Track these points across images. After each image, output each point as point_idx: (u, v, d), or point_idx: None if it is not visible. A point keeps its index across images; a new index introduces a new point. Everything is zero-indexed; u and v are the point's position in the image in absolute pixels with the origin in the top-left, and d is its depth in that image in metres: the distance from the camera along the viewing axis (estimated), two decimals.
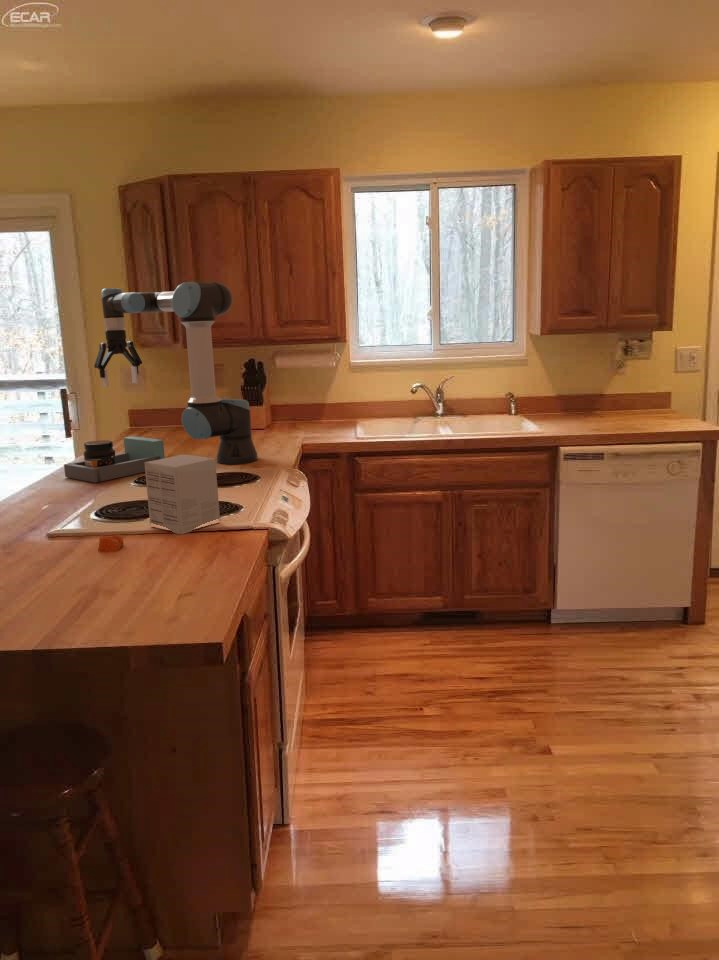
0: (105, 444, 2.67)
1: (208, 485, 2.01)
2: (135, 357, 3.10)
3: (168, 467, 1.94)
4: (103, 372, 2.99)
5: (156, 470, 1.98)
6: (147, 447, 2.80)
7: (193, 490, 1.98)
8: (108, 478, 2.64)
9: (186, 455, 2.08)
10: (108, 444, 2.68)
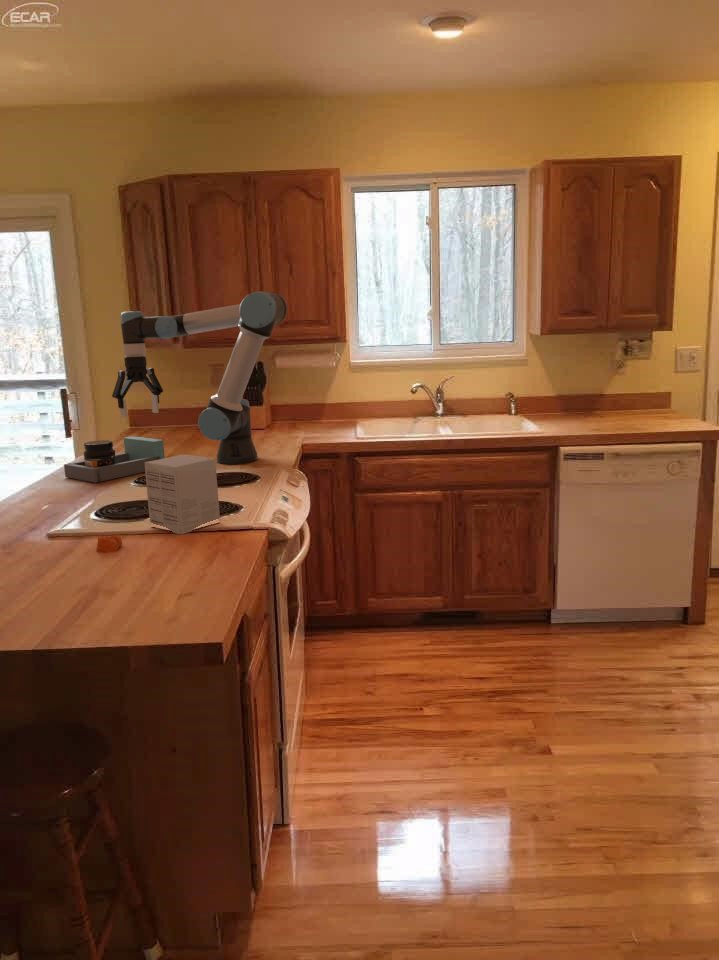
0: (105, 444, 2.67)
1: (208, 485, 2.01)
2: (156, 385, 2.86)
3: (168, 467, 1.94)
4: (122, 402, 2.75)
5: (156, 470, 1.98)
6: (147, 447, 2.80)
7: (193, 489, 1.98)
8: (108, 478, 2.64)
9: (186, 455, 2.08)
10: (108, 444, 2.68)
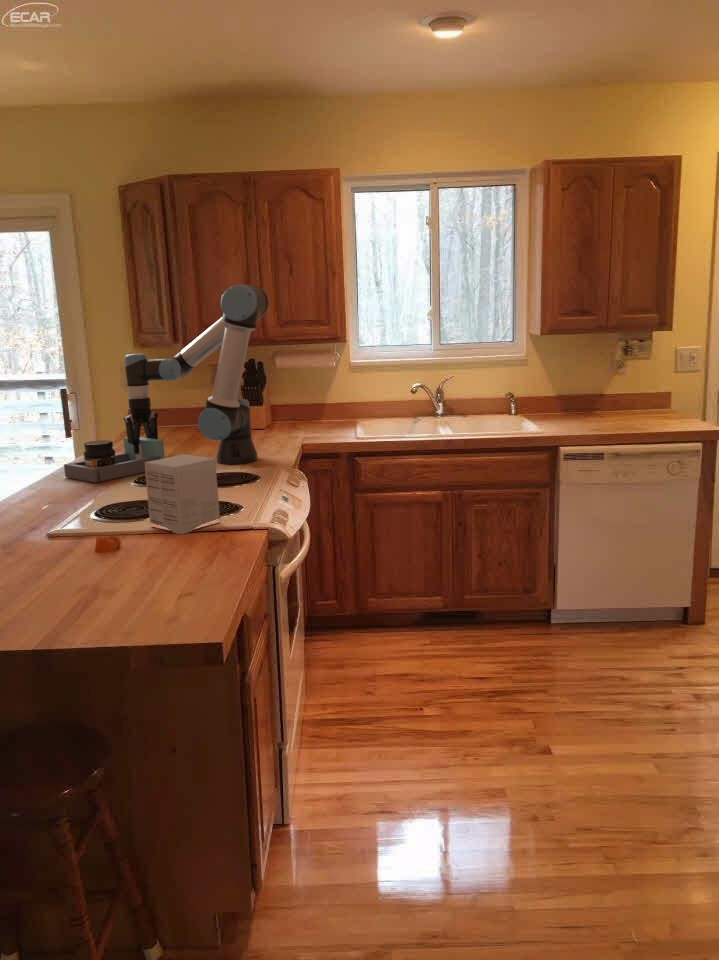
0: (105, 444, 2.67)
1: (208, 485, 2.01)
2: (153, 430, 2.87)
3: (168, 467, 1.94)
4: (137, 448, 2.82)
5: (156, 470, 1.98)
6: (147, 447, 2.80)
7: (193, 489, 1.98)
8: (108, 478, 2.64)
9: (186, 455, 2.08)
10: (108, 444, 2.68)
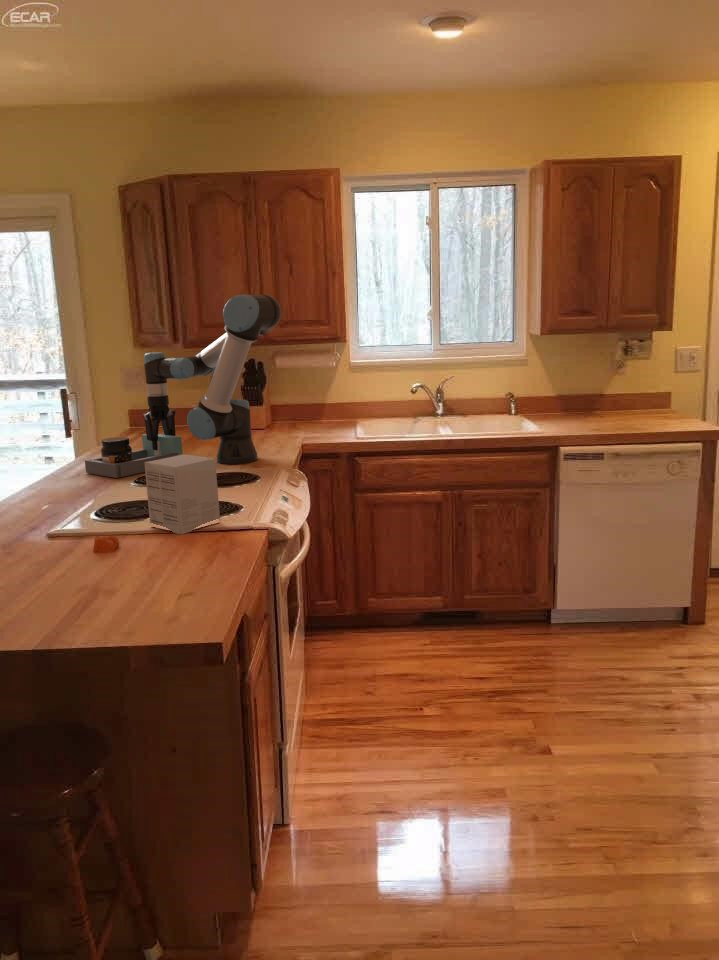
0: (122, 441, 2.72)
1: (208, 485, 2.01)
2: (171, 427, 2.93)
3: (168, 467, 1.94)
4: (156, 444, 2.88)
5: (156, 470, 1.98)
6: (165, 444, 2.87)
7: (193, 489, 1.98)
8: (128, 474, 2.70)
9: (186, 455, 2.08)
10: (125, 441, 2.73)
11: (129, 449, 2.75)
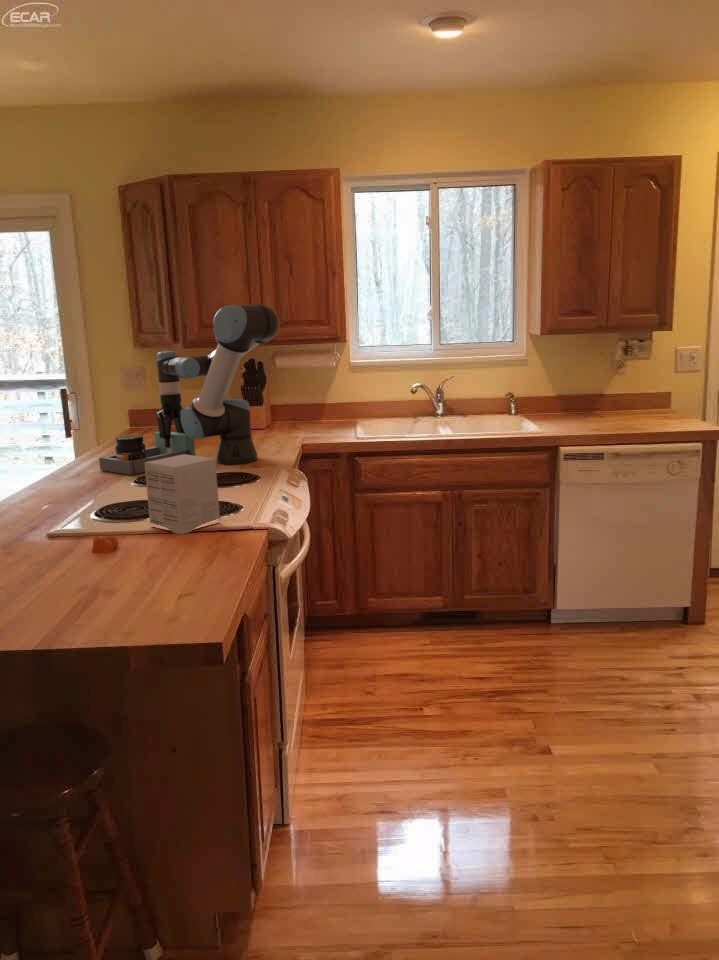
0: (136, 439, 2.76)
1: (208, 485, 2.01)
2: None
3: (168, 467, 1.94)
4: (168, 442, 2.93)
5: (156, 470, 1.98)
6: (178, 441, 2.91)
7: (193, 490, 1.98)
8: (142, 471, 2.75)
9: (186, 455, 2.08)
10: (139, 439, 2.77)
11: (143, 447, 2.79)
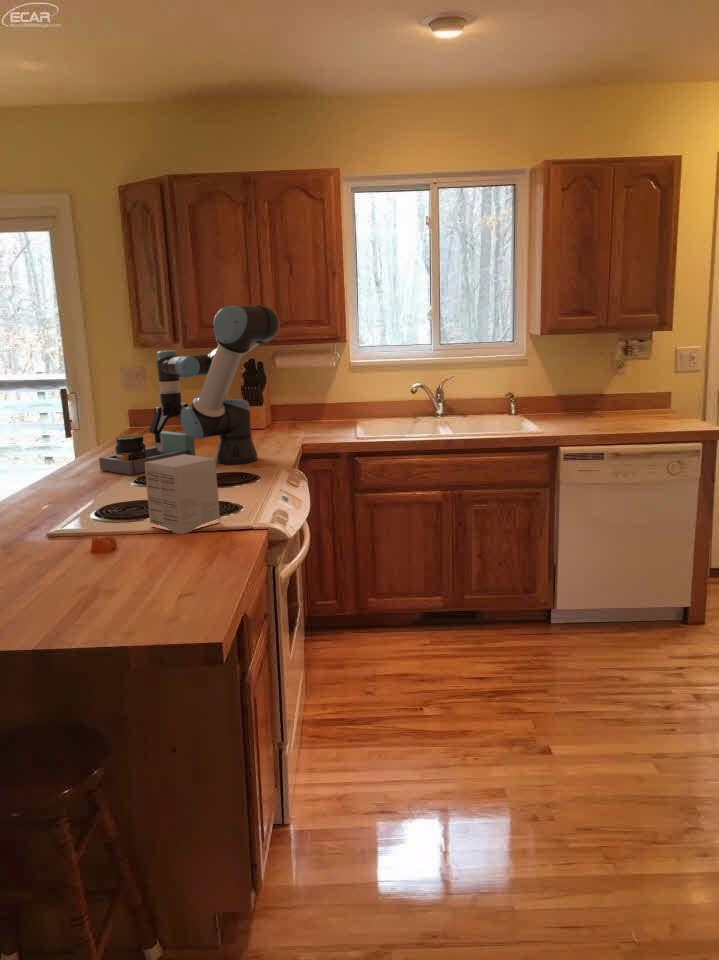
0: (136, 439, 2.76)
1: (208, 485, 2.01)
2: None
3: (168, 467, 1.94)
4: (158, 437, 2.89)
5: (156, 470, 1.98)
6: (178, 441, 2.91)
7: (193, 489, 1.98)
8: (142, 471, 2.75)
9: (186, 455, 2.08)
10: (139, 439, 2.77)
11: (143, 447, 2.79)
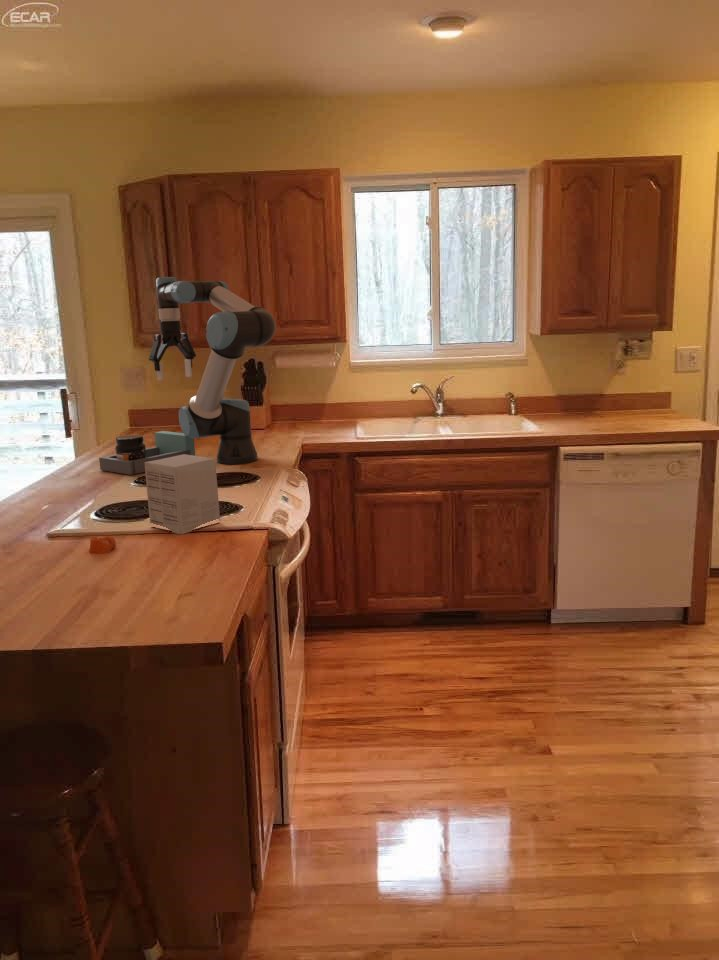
0: (136, 439, 2.76)
1: (208, 485, 2.01)
2: (189, 350, 2.96)
3: (168, 467, 1.94)
4: (158, 365, 2.85)
5: (156, 470, 1.98)
6: (178, 441, 2.91)
7: (193, 489, 1.98)
8: (142, 471, 2.75)
9: (186, 455, 2.08)
10: (139, 439, 2.77)
11: (143, 447, 2.79)
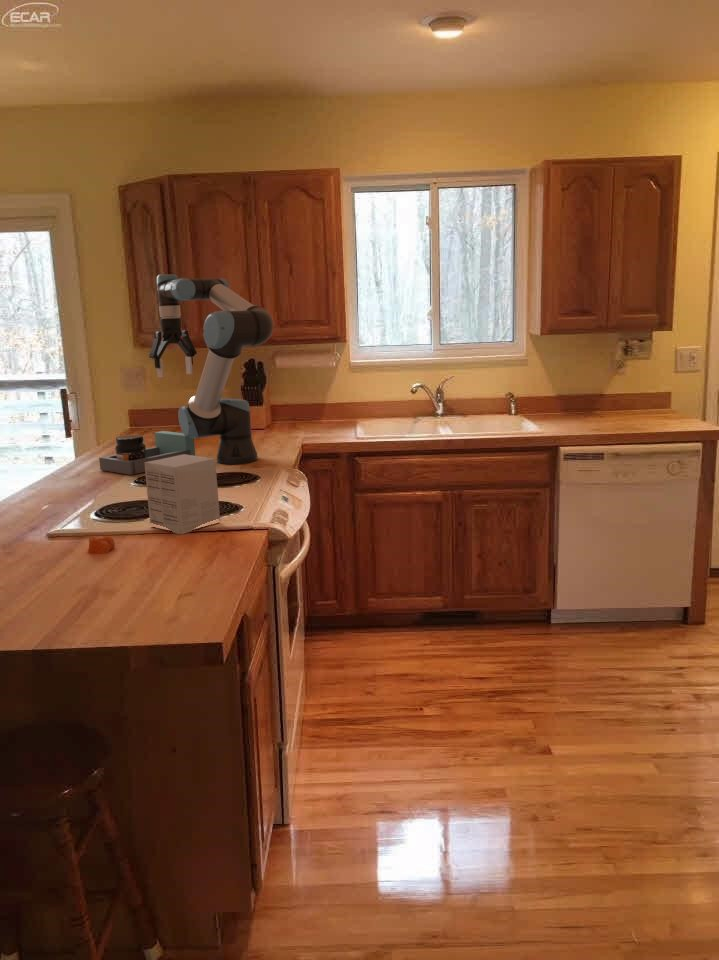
0: (136, 439, 2.76)
1: (208, 485, 2.01)
2: (190, 347, 2.96)
3: (168, 467, 1.94)
4: (158, 362, 2.85)
5: (156, 470, 1.98)
6: (178, 441, 2.91)
7: (193, 489, 1.98)
8: (142, 471, 2.75)
9: (186, 455, 2.08)
10: (139, 439, 2.77)
11: (143, 447, 2.79)
